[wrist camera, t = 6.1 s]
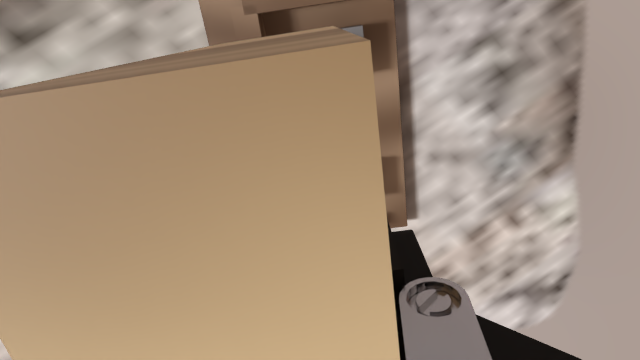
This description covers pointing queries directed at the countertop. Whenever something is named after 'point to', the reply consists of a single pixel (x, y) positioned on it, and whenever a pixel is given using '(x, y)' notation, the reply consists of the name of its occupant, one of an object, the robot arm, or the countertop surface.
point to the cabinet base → (347, 14)
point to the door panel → (199, 208)
